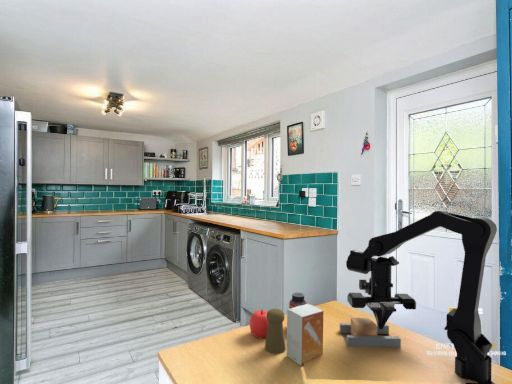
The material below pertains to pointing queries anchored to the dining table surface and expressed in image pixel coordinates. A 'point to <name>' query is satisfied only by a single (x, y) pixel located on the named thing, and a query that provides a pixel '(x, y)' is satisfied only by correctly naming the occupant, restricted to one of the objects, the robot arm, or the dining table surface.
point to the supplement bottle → (297, 300)
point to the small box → (304, 333)
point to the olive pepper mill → (275, 332)
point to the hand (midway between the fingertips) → (380, 328)
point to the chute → (370, 338)
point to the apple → (259, 323)
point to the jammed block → (363, 327)
